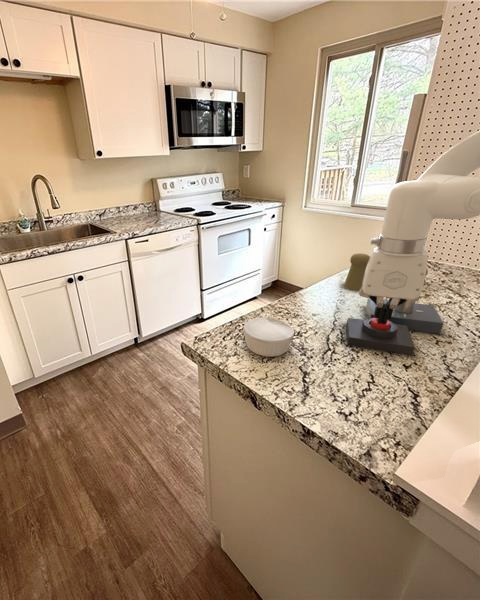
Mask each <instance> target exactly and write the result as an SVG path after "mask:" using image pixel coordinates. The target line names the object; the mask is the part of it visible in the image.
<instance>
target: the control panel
mask: <svg viewBox="0 0 480 600" xmlns="http://www.w3.org/2000/svg"><path fill="white" fill-rule="evenodd" d="M388 300H389V299H384V300H383V302H384V304H385V303H387V302H388ZM375 308H376V304H375V303H374V302H373V301H372V300H371V299H370V298H367V300H366V304H365V311H366V312H365V313H366V318H374V312H375ZM388 320H389V319H388ZM389 321H391V322H392V323H394V324H400V325H407V328H408V331H414V332H422V333H429V334H435V335H437V334H438V335H440V334H441V332H442V329H443V326H444V321H443V319H442V317H441V316H440V314H439V313H438V311H437V309H436V307H435V305H434V304H427V303H426V304H425V303H416V302H415V305H414V308H413V311H412V312H411V313H402V312H398V311H395V310H394V309H393V312H392V316H391V319H390V320H389Z"/></svg>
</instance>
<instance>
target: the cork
mask: <svg viewBox="0 0 480 600" xmlns="http://www.w3.org/2000/svg"><path fill="white" fill-rule="evenodd" d="M370 256H371V255H369V254H366V253H353V254H352V255H351V256H350V259H349V261H350V267H349V269H348V272H347V276H346V278H345V281H344V283H343V287H344V289H346V290H349V291H356V292H357V291H358V292H359V291H360V289H361V287H362V281H363V277H364V273H365V270H366V267H367V264H368V261H369V258H370Z"/></svg>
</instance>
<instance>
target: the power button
mask: <svg viewBox="0 0 480 600" xmlns="http://www.w3.org/2000/svg"><path fill="white" fill-rule="evenodd" d="M370 325H371V326H373V327H375V328H378V329H389V327H390V321H389V320H387V323H386V324H383V323H377V318H372V320H371V324H370Z"/></svg>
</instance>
